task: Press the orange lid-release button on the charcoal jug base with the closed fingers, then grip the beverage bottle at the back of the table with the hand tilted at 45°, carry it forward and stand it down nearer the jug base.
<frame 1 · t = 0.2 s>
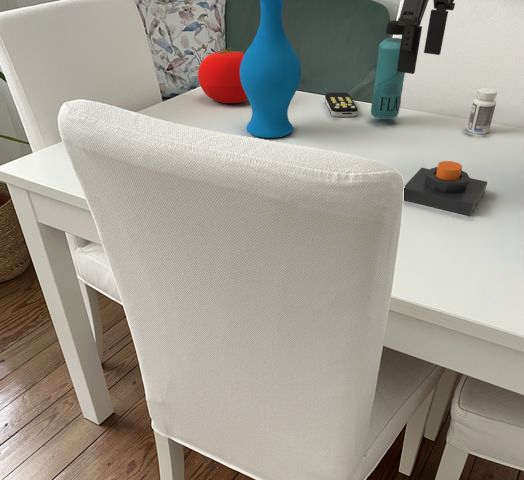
hand: (419, 62, 95), 19 cm above the table, tool pointing down, fingers open, 13 cm apart
vase: (269, 132, 124), on the table
tomato: (228, 101, 140), on the table
beverage bottle: (383, 121, 129), on the table
button: (448, 171, 97), point 5 cm above the table, slide at 0.1 cm
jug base: (443, 196, 100), on the table
pill bottle: (477, 131, 125), on the table
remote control: (340, 109, 136), on the table
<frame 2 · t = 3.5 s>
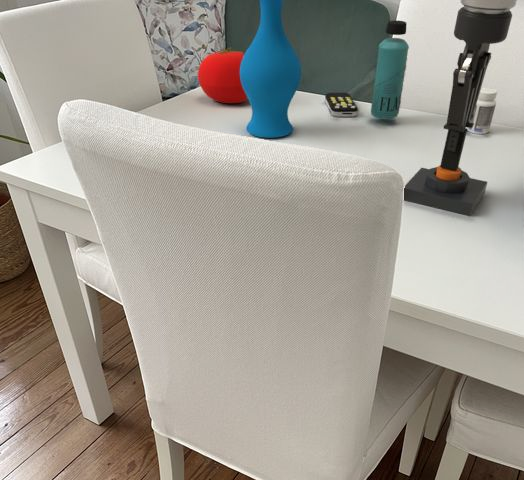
hand: (449, 167, 97), 5 cm above the table, tool pointing down, fingers closed
button: (448, 174, 98), point 4 cm above the table, slide at -0.5 cm, touching gripper
everything else where it was.
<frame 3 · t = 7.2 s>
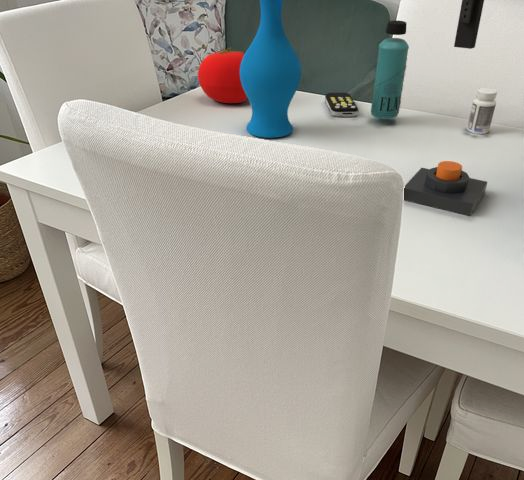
hand: (464, 47, 87), 23 cm above the table, tool pointing down, fingers closed
button: (448, 171, 97), point 5 cm above the table, slide at 0.1 cm
everything else where it was.
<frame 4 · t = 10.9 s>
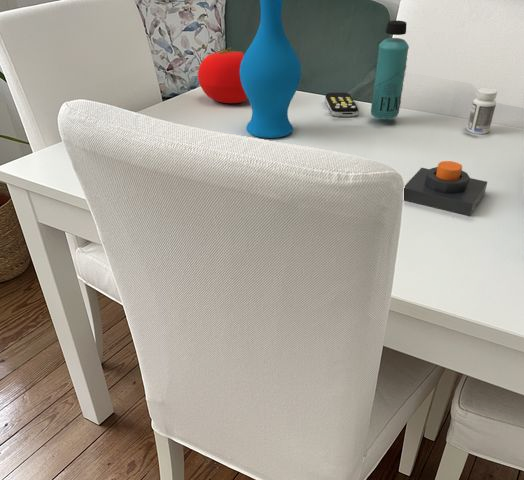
nothing on the table moved.
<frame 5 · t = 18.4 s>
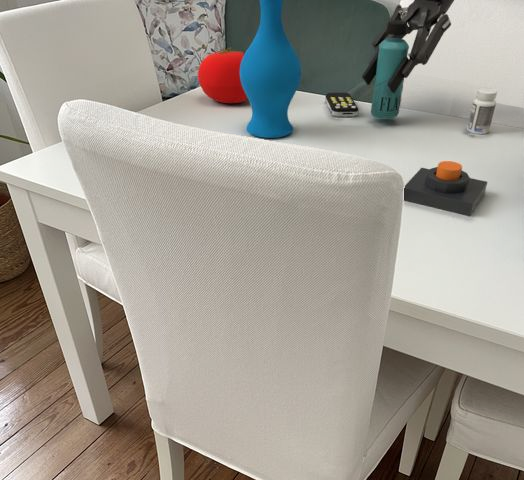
hand: (378, 84, 122), 8 cm above the table, tool tilted 45°, fingers closed on beverage bottle, 6 cm apart
beverage bottle: (383, 121, 129), on the table, touching gripper
everything else where it was.
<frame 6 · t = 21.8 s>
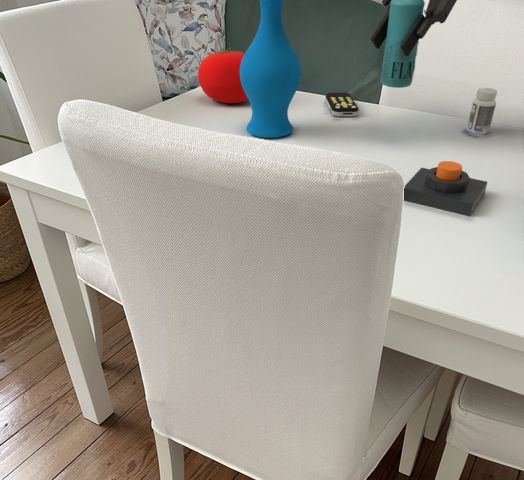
hand: (389, 47, 107), 18 cm above the table, tool tilted 45°, fingers closed on beverage bottle, 6 cm apart
beverage bottle: (394, 92, 115), point 10 cm above the table, touching gripper
everything else where it was.
when the fingers open (8 cm above the table, at t = 25.3 s): beverage bottle stays where it is, on the table.
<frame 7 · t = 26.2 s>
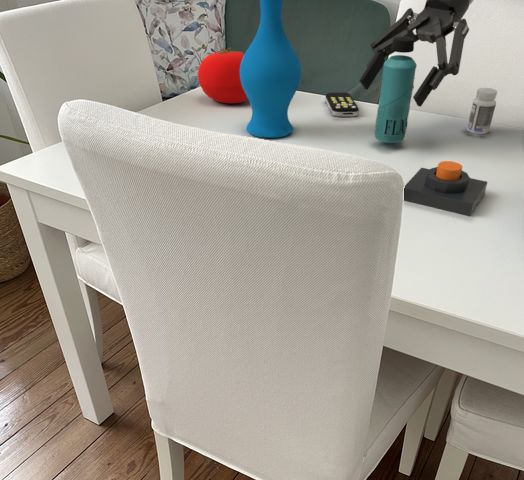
hand: (389, 93, 110), 11 cm above the table, tool tilted 45°, fingers open, 13 cm apart
beverage bottle: (388, 145, 119), on the table
everything else where it was.
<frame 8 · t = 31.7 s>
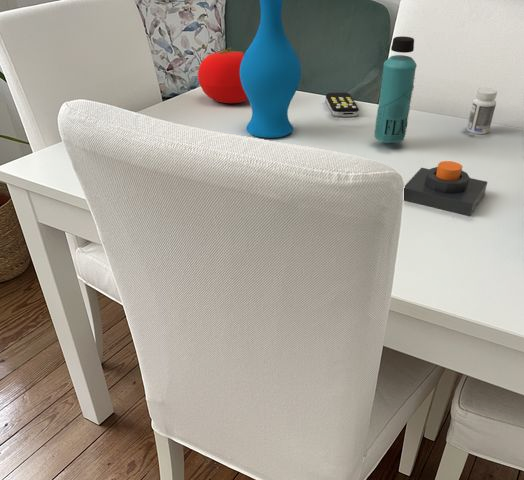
nothing on the table moved.
at the end: button pushed in 1.0 cm at the most during the clip, back to where it started at the end; beverage bottle inside the target area (0.0 cm from its centre), on the table; beverage bottle tilted 0° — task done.
